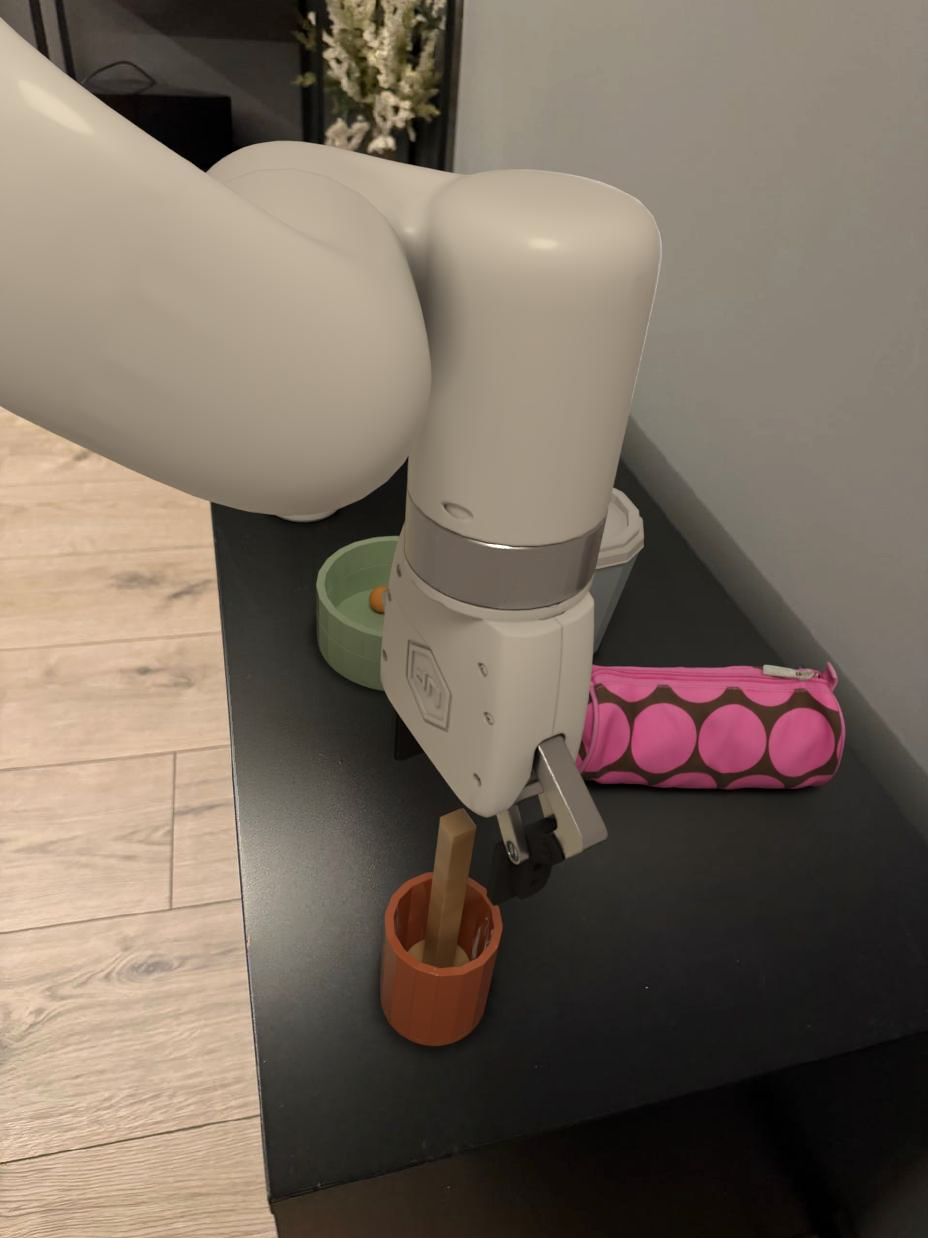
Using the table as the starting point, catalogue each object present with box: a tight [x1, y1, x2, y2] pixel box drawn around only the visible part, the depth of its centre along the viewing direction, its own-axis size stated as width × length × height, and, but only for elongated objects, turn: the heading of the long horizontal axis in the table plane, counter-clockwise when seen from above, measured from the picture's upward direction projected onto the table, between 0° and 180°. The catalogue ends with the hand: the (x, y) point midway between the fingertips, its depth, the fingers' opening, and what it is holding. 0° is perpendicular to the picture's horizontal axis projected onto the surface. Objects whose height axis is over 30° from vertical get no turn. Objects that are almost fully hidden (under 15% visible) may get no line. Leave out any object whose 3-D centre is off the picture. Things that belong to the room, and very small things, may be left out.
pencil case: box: [575, 661, 846, 790], centre depth 71 cm, size 21×10×10 cm, turn 97°
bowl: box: [315, 535, 400, 692], centre depth 81 cm, size 14×14×6 cm
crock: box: [379, 871, 504, 1047], centre depth 55 cm, size 7×7×8 cm
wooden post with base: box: [408, 807, 477, 968], centre depth 52 cm, size 4×4×16 cm
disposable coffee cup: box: [589, 487, 645, 655], centre depth 79 cm, size 11×11×15 cm
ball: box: [369, 586, 388, 613], centre depth 84 cm, size 2×2×2 cm
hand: (464, 814), depth 46 cm, fingers open, 9 cm apart
